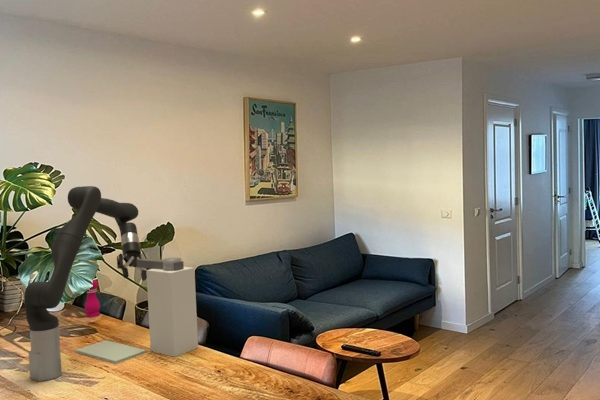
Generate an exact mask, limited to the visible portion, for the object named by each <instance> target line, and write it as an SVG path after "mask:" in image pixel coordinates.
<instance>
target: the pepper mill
mask: <svg viewBox="0 0 600 400" xmlns="http://www.w3.org/2000/svg"><path fill="white" fill-rule="evenodd" d="M97 287H98V281H97V280H96V279H94V281H93V287H92V288H91V289H90V290H89V291H87V292H86V295H87V297H86V301H85V303H84V310H85V311H86V312H85V316H86V317H87V318H96V317H98V315H99V316H100V311H99V310H100V309H101V304H100V301H99V300H98V297H97V292H98V288H97ZM95 316H96V317H95Z"/></svg>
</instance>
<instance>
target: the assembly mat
mask: <svg viewBox="0 0 600 400" xmlns="http://www.w3.org/2000/svg"><path fill="white" fill-rule="evenodd" d="M74 352H75V354H80V355H83V356H87V357H90V358H93V359H97V360H100V361H104V362H108V363H111V364H115V365H116V364H119V363H121V362H125V361H127V360H131V359H133V358H136V357H138V356H142V355H143V354H147V349H143V348H138V347H135V346H131V345H127V344H123V343H119V342H115V341H111V340H107V339H105V340H102V341H99V342H96V343H92V344H89V345H85V346H83V347H80V348H76V349H75V350H74Z"/></svg>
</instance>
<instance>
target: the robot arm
mask: <svg viewBox="0 0 600 400" xmlns="http://www.w3.org/2000/svg"><path fill="white" fill-rule="evenodd" d="M67 202H68V205H69V206H70V207H71V208H72V209H74V210H77V212H76V214H75V215H74V216H73V217H72V218H71V219H70V220H68V221H67V222H66V223H65V224H64V225H63V226H62V227H61V228H59V230H58V231H57V233H56V235H55V237H54V240H53V242H52V245H51V248H50V252H51V256H52V257H51V258H52V262H53V272H52V274H51V277H50V278H49V280H48V281H32V282H30V283H29V284H28V285H27V286H26V288H25V290H24V294H23V295H24V297H23V298H24V307H25V308H24V309H25V315H26V316H25V317H26V322H27V324H28V327H29V338H30V339H29V340H30V351H28V363H29V365H28V366H29V379H31V380H34V381H36V382H43V381H44V382H45V381H50V380H53V379H56V378H58V377H60V376H61V375H62V374H63V372H62V355H61V341H60V339H61V337H60V322H59V318H58V317H57V316H56V315H54V314H52V313H51V312H49V311H48V310H49V309H51V310H52V309H56V308H57V307H58V305H59V304H60V303H61V301H62V299H63V297H64V293H65V289H66V287H67V282H68V279H69V276H70V274H71V273H70V272H71V270H72V267H73V265H74V262H75V260H76V258H77V255H78V253H79V250H80V249H81V246H82V244H83V240H84V239H85V238H84V237H85V235H86V233H87V230H88V228H89V225H90V224H91V222H92V220H93V218H94V216H95V214H96V213H98V214H101V215H104V216H107V217H110V218H112V219H114V220H115V222H116V224H117V227H118V229H119V233H120V244H121V251H122V253H119V254H118V255H117V256H116V265H117V267H116V268H117V269H120V270H121V271H122V276H123V278H124V279H127V278H129V276H130V275H129V269H128V267H131V268H136V269H137V270H138V271H139V272H140V276H141V281H142V282H144V281H147V271H146V270H150V269H151V268H140V267H137V260H138V259H143V257H142V250H141V245H140V244H141V243H140V239H139V235H138V230H137V224H135V222H130V221H133V220H135V219H136V218H137V217H138V215H139V209H138V207H137V206H136V205H135V204H133V203H132V202H118V201H116V200H113V199H109V198H104V197H102V192H101V189H100V188H99V187H97V186H93V185H89V186H88V185H87V186H83V185H82V186H74V187H73V188H70V189H69V191H68V194H67ZM145 258H146V259H149V258H148V257H145ZM124 262H125V263H124Z"/></svg>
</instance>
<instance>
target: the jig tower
mask: <svg viewBox="0 0 600 400" xmlns="http://www.w3.org/2000/svg"><path fill="white" fill-rule="evenodd" d="M146 271H147V272H146V274H147V278H146V286H147V287H146V291H147V303H148V305H147V306H148V308H147V309H148V322H149V323H148V324H149V325H148V326H149V343H150V345H149V346H150V352H152V351H153V353H156V352H157V354H160V353H161V355H164V354H165V355H164V356H168V357H173V358H177V357H178V356H182V355H184V354H187V353H189V352H191V350H192V351H194V350H196V349H199V338H198V337H199V335H198V319H197V318H198V315H197V298H196V297H197V296H196V292H197V291H196V278H195V277H196V274H195V273H196V272H195V271H196V270H195V267H191V266H190V267H189V266H184V269H181V270H177V271H164V270H163V269H151V268H150V270H146ZM186 352H187V353H186ZM181 354H182V355H181Z"/></svg>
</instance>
